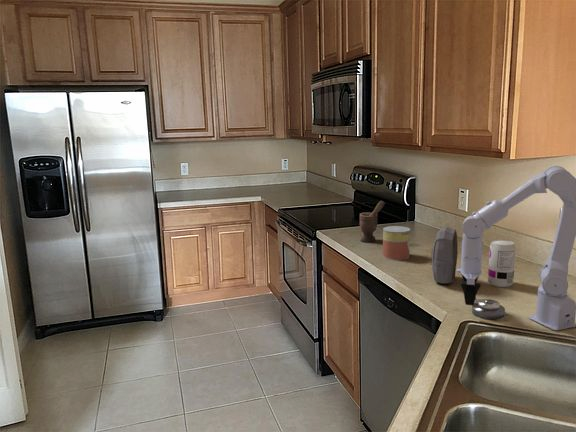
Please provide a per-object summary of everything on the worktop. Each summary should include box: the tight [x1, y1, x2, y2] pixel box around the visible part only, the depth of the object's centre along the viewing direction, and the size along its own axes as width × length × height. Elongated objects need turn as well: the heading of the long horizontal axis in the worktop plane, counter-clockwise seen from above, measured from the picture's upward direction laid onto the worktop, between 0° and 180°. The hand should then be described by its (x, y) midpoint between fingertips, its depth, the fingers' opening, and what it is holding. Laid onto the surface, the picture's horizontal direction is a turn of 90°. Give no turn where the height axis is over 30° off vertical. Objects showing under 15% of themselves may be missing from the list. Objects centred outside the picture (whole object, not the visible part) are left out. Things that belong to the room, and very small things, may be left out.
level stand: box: [471, 303, 506, 321], centre depth 142 cm, size 9×9×2 cm
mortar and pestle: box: [359, 200, 386, 243], centre depth 227 cm, size 12×9×20 cm
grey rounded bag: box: [430, 226, 459, 284], centre depth 170 cm, size 15×8×20 cm, turn 153°
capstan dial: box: [474, 296, 501, 310], centre depth 143 cm, size 10×6×4 cm, turn 37°
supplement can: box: [487, 239, 517, 288], centre depth 165 cm, size 8×8×15 cm
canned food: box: [382, 225, 411, 261], centre depth 201 cm, size 11×11×12 cm
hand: (469, 299), depth 143 cm, fingers open, 7 cm apart
